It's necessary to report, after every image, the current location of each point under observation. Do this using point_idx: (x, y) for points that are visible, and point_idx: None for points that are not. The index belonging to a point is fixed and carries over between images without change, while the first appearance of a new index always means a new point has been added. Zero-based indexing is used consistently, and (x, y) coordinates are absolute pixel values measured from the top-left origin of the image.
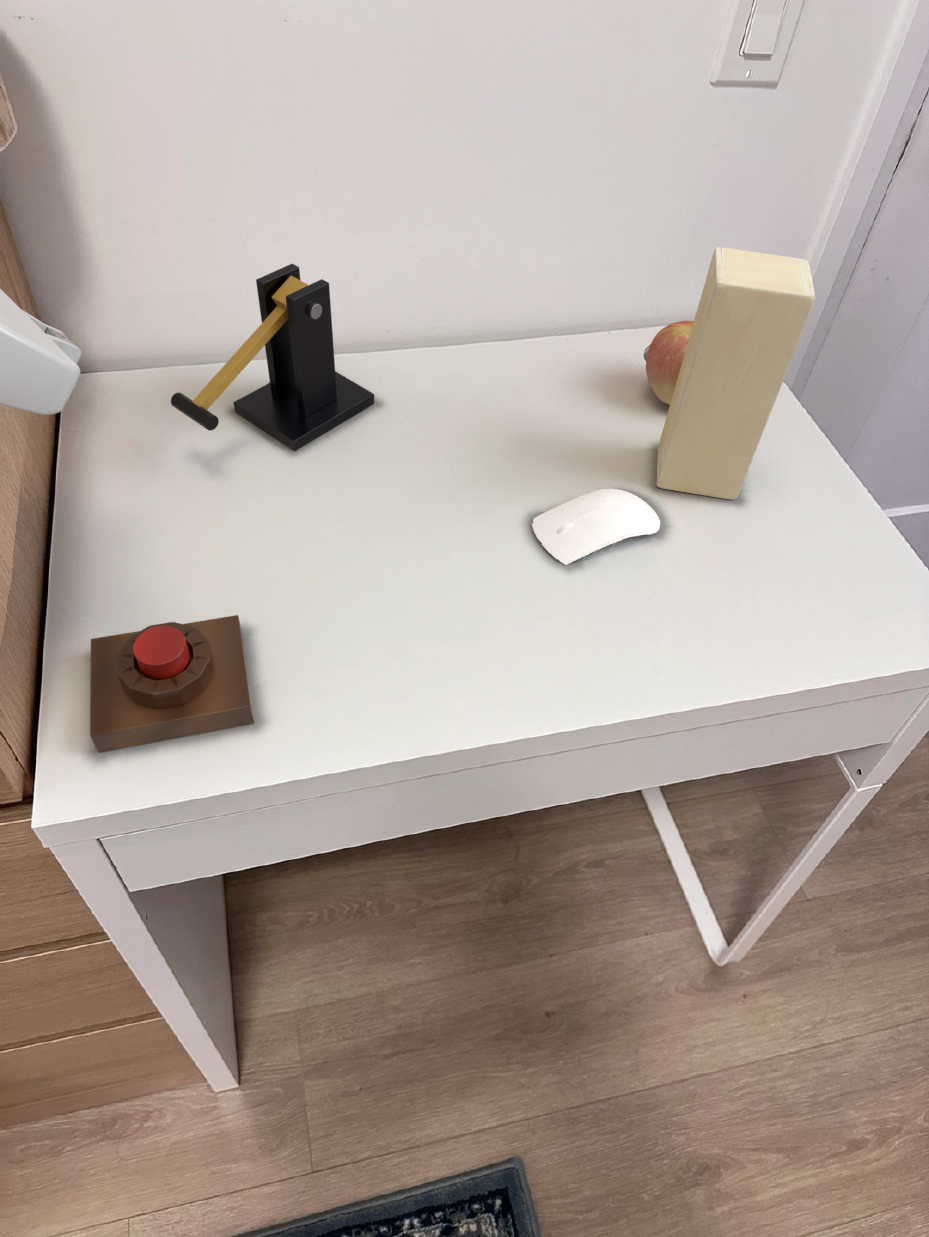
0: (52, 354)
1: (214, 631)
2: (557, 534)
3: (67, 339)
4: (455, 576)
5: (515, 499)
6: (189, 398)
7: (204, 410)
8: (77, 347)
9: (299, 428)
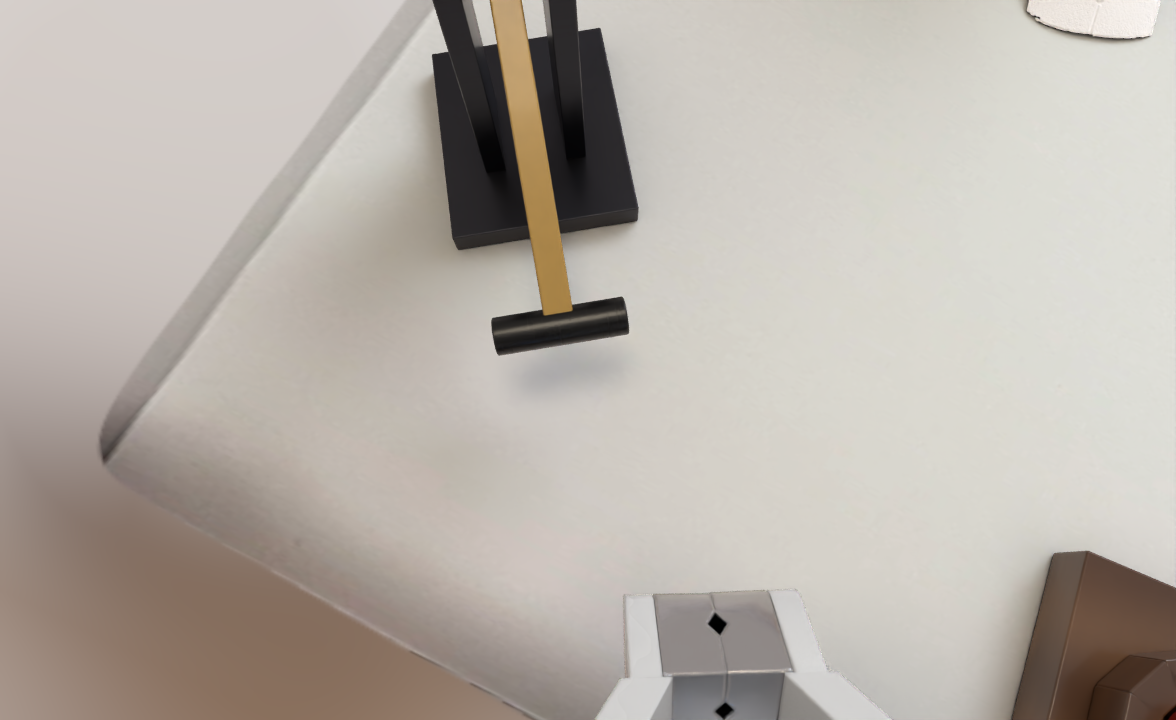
0: None
1: (1111, 613)
2: (1102, 3)
3: (723, 611)
4: (1092, 180)
5: (966, 7)
6: (524, 313)
7: (595, 308)
8: (796, 598)
9: (609, 180)
